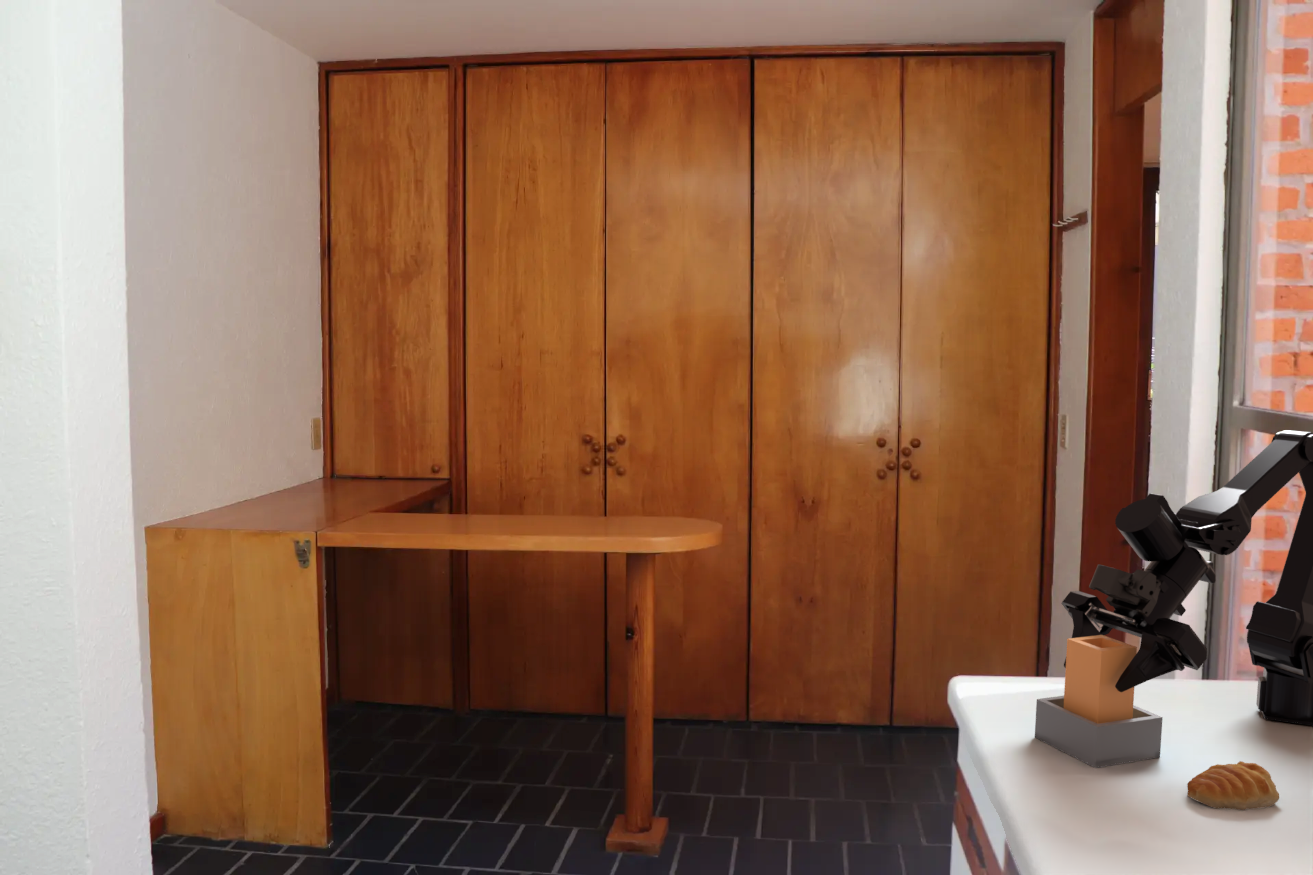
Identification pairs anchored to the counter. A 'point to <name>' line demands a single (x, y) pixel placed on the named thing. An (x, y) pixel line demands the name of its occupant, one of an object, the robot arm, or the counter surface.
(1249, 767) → the pastry
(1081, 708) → the orange hollow square block
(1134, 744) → the grey crate
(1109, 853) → the counter surface
